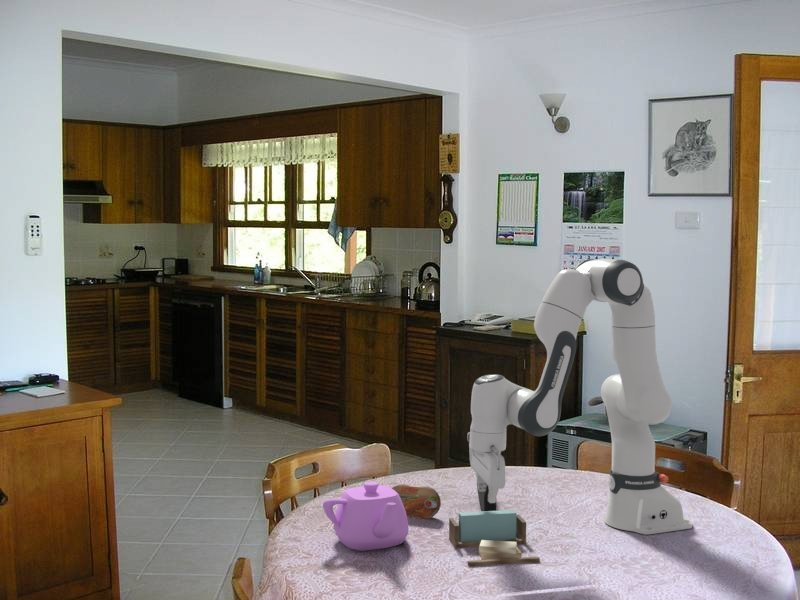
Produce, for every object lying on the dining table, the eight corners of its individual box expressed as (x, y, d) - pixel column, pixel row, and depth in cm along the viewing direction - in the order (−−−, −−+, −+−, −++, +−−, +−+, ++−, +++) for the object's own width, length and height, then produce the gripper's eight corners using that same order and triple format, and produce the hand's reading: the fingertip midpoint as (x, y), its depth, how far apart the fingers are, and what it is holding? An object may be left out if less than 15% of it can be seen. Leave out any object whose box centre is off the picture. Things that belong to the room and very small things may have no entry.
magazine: (497, 497, 228) (489, 437, 256) (485, 496, 228) (478, 437, 256) (495, 551, 234) (487, 488, 262) (483, 551, 234) (476, 487, 262)
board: (513, 541, 221) (513, 509, 221) (515, 544, 219) (516, 513, 218) (458, 544, 219) (458, 512, 218) (460, 547, 216) (461, 515, 216)
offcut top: (516, 548, 210) (516, 541, 210) (515, 554, 206) (515, 548, 206) (481, 546, 212) (481, 539, 212) (479, 552, 208) (479, 545, 207)
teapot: (312, 538, 222) (312, 479, 221) (390, 527, 231) (390, 470, 229) (343, 570, 201) (343, 506, 200) (427, 557, 210) (427, 495, 209)
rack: (518, 537, 223) (518, 514, 223) (541, 564, 206) (542, 539, 205) (449, 541, 220) (449, 518, 220) (466, 568, 203) (466, 543, 202)
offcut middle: (516, 552, 212) (516, 545, 212) (521, 558, 207) (521, 552, 207) (478, 554, 210) (478, 547, 210) (483, 560, 206) (483, 554, 206)
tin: (386, 514, 241) (386, 484, 241) (390, 510, 244) (390, 481, 244) (438, 521, 236) (438, 490, 235) (442, 517, 239) (442, 487, 238)
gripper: (512, 451, 207) (511, 509, 208) (489, 431, 227) (488, 484, 228) (486, 452, 206) (485, 510, 207) (465, 432, 226) (464, 485, 227)
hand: (486, 496), depth 218 cm, fingers open, 8 cm apart
